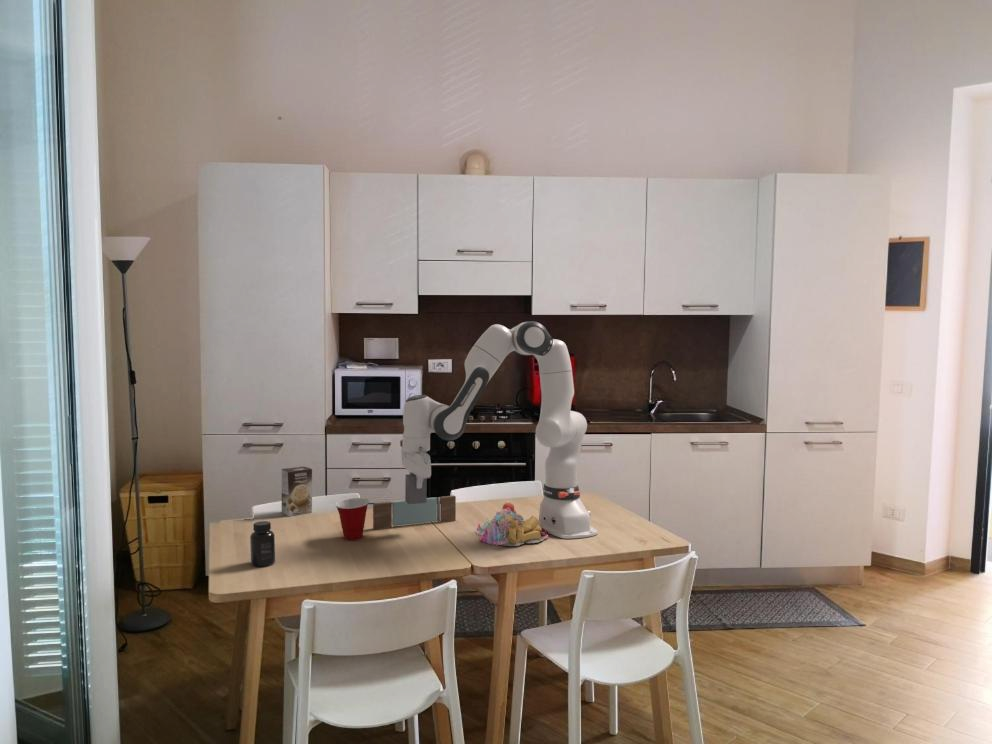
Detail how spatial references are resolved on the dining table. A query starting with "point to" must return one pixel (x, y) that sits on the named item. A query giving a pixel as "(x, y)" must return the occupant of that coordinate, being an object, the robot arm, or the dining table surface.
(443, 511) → the wooden blocks
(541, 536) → the candy landscape model
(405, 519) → the door
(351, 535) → the plastic cup
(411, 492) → the block
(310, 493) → the coffee box
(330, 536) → the dining table surface
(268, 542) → the supplement bottle
